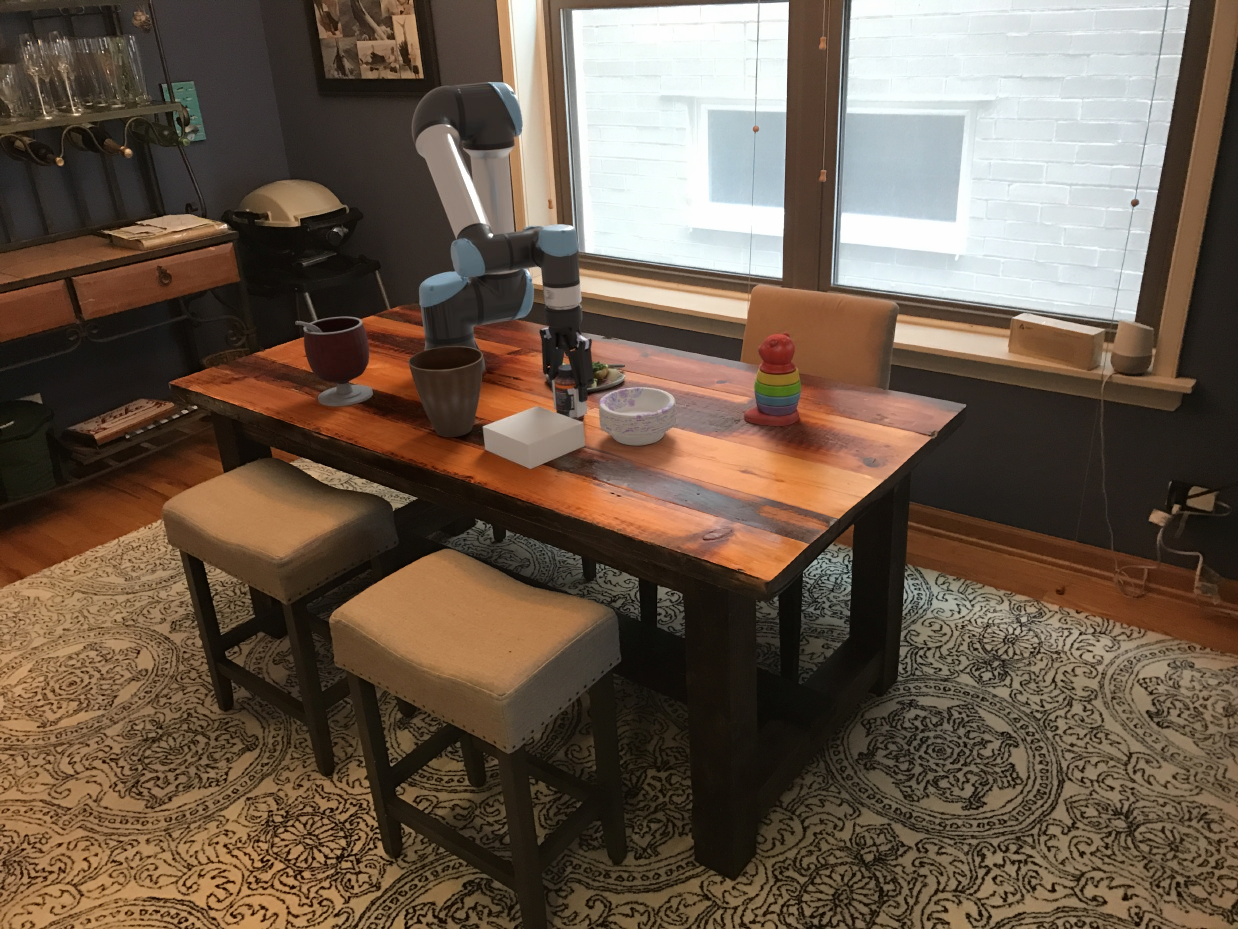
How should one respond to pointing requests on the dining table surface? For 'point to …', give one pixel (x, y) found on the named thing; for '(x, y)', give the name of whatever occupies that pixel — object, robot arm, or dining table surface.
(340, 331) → the mate gourd
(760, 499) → the dining table surface
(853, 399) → the dining table surface
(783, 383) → the stacking bear
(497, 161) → the robot arm
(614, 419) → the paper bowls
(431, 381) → the plant pot
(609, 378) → the salad plate
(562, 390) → the supplement bottle
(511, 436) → the white flat block
